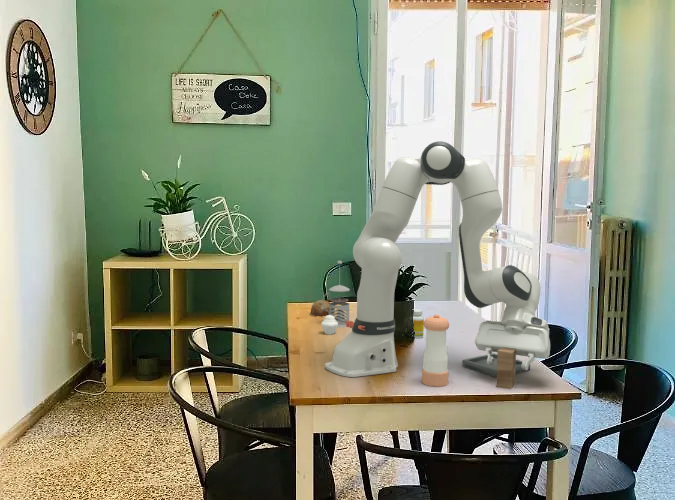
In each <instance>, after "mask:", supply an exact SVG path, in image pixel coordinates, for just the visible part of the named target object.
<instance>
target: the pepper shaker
mask: <svg viewBox="0 0 675 500" xmlns="http://www.w3.org/2000/svg"><path fill="white" fill-rule="evenodd" d="M449 328H450V322H449V320H448V319H447V318H445V317H443V316H441V315H439V314H438V313H435V314H434V315H433V316H429V317H427V318H425V319H424V329H426V331H425V332H426V333H425V334H426V335H425V347H424V353H423V357H422V358H423V366H422V367H423V368H422V369H421V383H422V384H423V385H426V386H430V387H444V386H445V387H446V386H448V384H449V374H450V373H449V370H448V362H449V361H448V360H449V358H448V357H449V356H448V349H447V330H449Z"/></svg>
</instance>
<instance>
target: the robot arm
mask: <svg viewBox="0 0 675 500" xmlns="http://www.w3.org/2000/svg"><path fill="white" fill-rule="evenodd" d="M450 183H451V184H453V185H454V186H455V188H456V190H457V193H458V196H459V199H460V202H461V203H460V204H461V207H462V219H461V222H460V224H459V226H458V227H459V228H458V239H459V246H460V247H459V248H460V255H461V261H462V262H461V263H462V269H463V270H462V271H463V276H464V277H463V292H464V297H465V298H466V301H468V302H469V303H470V304H472V305H473V306H474V307H477V308H479V309H483V308H486V307H488V306H491V305H493V304H499V303H502V302H503V303H504V304H505V308H504V310H503V314H502V318H501V321H497V320H496V321H493V320H492V321H491V320H486V321H483V322H481V323H480V324H479V327H478V332H477V334H476V337H475V338H474V339H475V340H474V344H475V347H476V348H477V350H478V351H484V352H485V353H486V355H487V356H488V358H487V364H490V365H493V362H494V358H493V357H491V356H490V354H492V353H498V350H499V349H501V348H508V349H516V356H521V357H528V358H527V359H526V360H521V361H522V365H521V368H522V369H524V370H528V366H529V365H530V366H531V364H532V363H533V362H534V361H535V359H547V358H549V357H550V351H551V340H550V328H549V324H548V322H547V321H546V320H545V319H543V318H540V317H538V316H536V311H537V310H538V309H539V308H538V307H539V304H540V297H541V282H540V279H539V278H538V277H537V276H536V275H534V274H533V273H531V272H528V271H527V272H526V271H522V270H521V269H519V268H518V267H517V266H515V265H512V264H509V265H504V266H501V267H496V268H494V269H491V270H487V271H484V270H483V263H482V256H481V250H480V242H481V240H482V237H483V236H484V234H485V233H486V232H487V231H488V230H489V229H490V228H491V227H492V226H494V225H495V224H496V222H498V221H499V218H500V216H501V214H502V211H503V202H502V198H501V195H500V192H499V188H498V184H497V182H496V180H495V177H494V174H493V173H492V171H491V168H490V166H489V165H488V163H487V162H486V161H485V160H483V159H481V158H480V159H479V158H471V159H466V158H465V156H464V155H463V154H462V153H461V152H459V151H458V150H457V149H456V148H455V147H454V145H452V144H450V143H448V142H447V141H434V142H432V143H429V144H428V145H427V146H426V147H425V148H424V149H423V151H422V153H421V155H420V157H419V158H413V157H411V156H410V157H407V156H403V157H400V158H397V159H396V160H395V161H394V163H393V164H392V166H391V168H390V170H389V171H388V173H387V175H386V177H385V179H384V181H383V184H382V187H381V189H380V192H379V194H378V197H377V200H376V202H375V204H374V208H373V210H372V212H371V213H370V214H371V215H370V216H369V218H368V220H367V221H366V223H365V225H364V227H363V228H362V230H361V233H360V234H359V237H358V239H357V240H356V241H355V242H354V245H353V248H352V254H353V255H352V256H353V259H354V261H355V263H356V264H357V265H358V267H359V268H361V275H360V281H359V287H358V290H357V291H356V297H357V298H356V318H355V319H354V321H351V320H350V319H349V320H348V321H346V327H345V328H349V329H351V332H350V333H349V334H347V336H345V338H344V339H342V340H341V341H340V342H339V343H338V344H337V345H336V346H335V347H334V350H333V355H332V361H328V362H326V363H325V364H324V369H326V370H327V371H329V372H330V373H333V374H336V375H339V376H343V377H347V378H357V377H365V376H373V375H380V374H381V375H382V374H389V373H395V372H397V368H398V367H399V362H398V358H397V354H396V348H395V346H396V345H395V337H394V335H395V331H396V319H395V318H394V311H395V310H394V309H395V289H396V286H397V280H398V275H399V270H400V267H401V265H402V262H403V255H402V252H401V250H400V248H399V247H398V245H397V244H396V243H397V240H398V239H399V237H400V235H401V234H402V232H403V231H404V230H405V228H407V226H408V224H409V223H410V220H411V216H412V214H413V211H414V209H415V207H416V204H417V201H418V198H419V195H420V193H421V190H422V188H423V187H424V185H435V186H436V185H437V186H444V185H447V184H450ZM528 371H529V370H528Z"/></svg>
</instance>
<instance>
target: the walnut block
mask: <svg viewBox="0 0 675 500" xmlns="http://www.w3.org/2000/svg"><path fill="white" fill-rule="evenodd" d="M496 354H497V377H496V387H497V388H502V389H509V390H512V389H513V387H515V386H514V385H516V374H515V368H516V360H517V355H516V349H508V348H501V349H499V350H498V352H496Z"/></svg>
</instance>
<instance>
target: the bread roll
mask: <svg viewBox="0 0 675 500" xmlns="http://www.w3.org/2000/svg"><path fill="white" fill-rule="evenodd" d="M330 303H331V301H328V300H325V299H323V304H324V306H322V299H319V300H316V301H315V302H314V303H313V304H312V305H311V307H310V308H311V309H310V313H309V315H311V314H312V315H311V316H313V315H314V317H317V316H327V315H329V312H327V311H328V310H329V304H330ZM323 307H325V308H326V309H327V311H326V309H325V308H323ZM334 313H336V312H334Z"/></svg>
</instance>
